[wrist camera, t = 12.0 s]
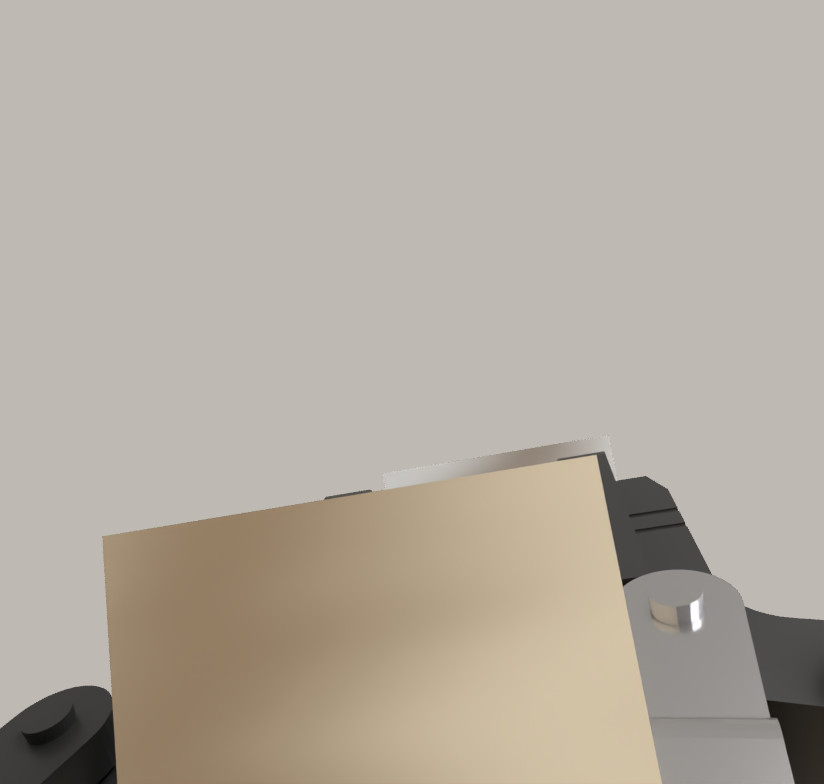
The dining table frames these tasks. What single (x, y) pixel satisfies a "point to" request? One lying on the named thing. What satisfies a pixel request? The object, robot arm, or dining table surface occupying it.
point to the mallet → (385, 636)
